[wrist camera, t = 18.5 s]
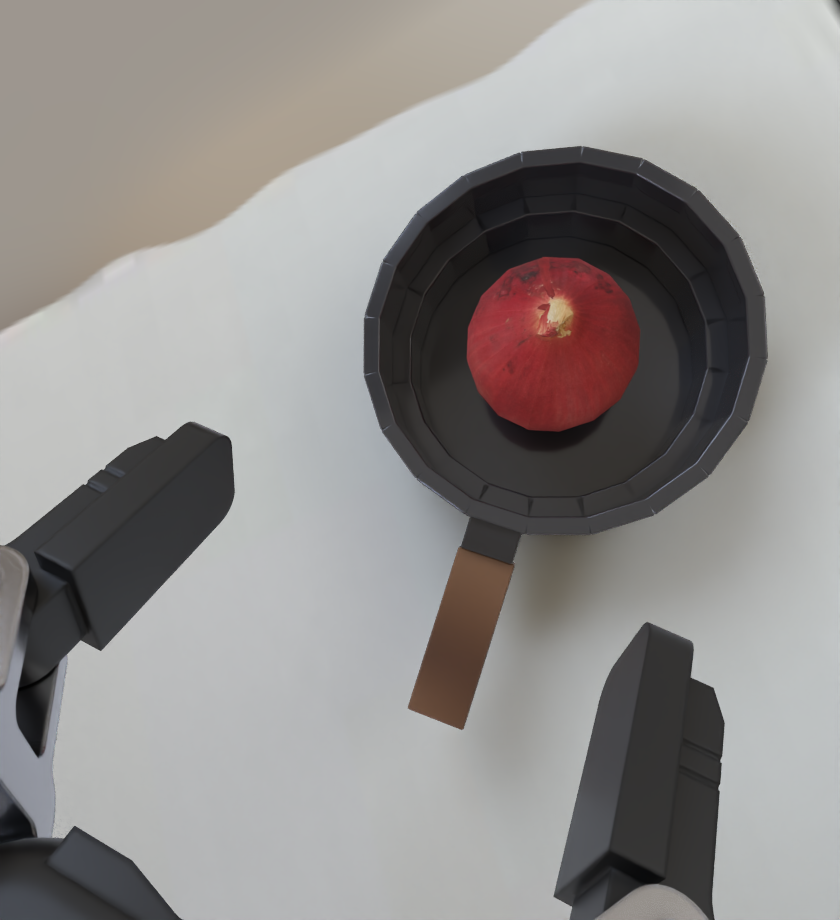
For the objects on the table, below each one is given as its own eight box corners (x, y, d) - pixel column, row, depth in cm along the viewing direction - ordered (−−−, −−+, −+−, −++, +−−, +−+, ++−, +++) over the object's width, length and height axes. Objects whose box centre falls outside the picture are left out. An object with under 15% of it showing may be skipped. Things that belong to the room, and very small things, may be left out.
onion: (458, 327, 27) (426, 248, 19) (595, 278, 26) (622, 174, 18) (501, 461, 26) (487, 437, 18) (644, 415, 25) (694, 369, 17)
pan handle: (473, 513, 24) (468, 512, 22) (525, 530, 23) (525, 531, 22) (415, 696, 23) (405, 711, 22) (467, 717, 23) (461, 733, 21)
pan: (765, 253, 25) (819, 193, 21) (667, 576, 25) (697, 591, 20) (446, 182, 28) (429, 114, 23) (352, 474, 27) (314, 465, 23)
